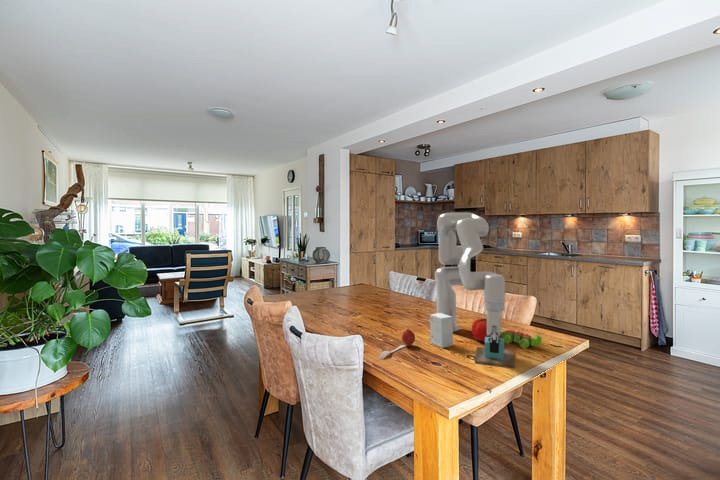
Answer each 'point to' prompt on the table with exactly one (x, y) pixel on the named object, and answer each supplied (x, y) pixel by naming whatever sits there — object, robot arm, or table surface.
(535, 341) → the toy crocodile
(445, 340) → the small box
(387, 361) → the table surface
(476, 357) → the post board
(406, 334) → the onion
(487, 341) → the bead
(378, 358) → the fork
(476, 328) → the tomato
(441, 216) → the robot arm
